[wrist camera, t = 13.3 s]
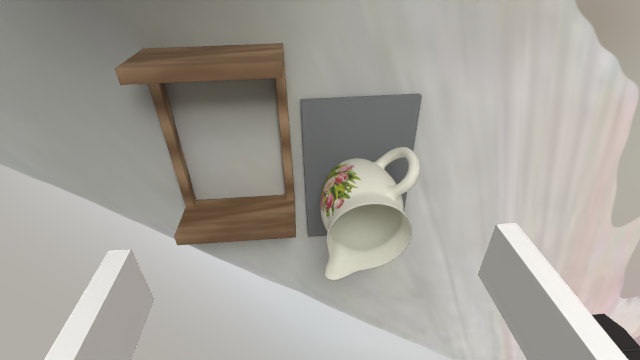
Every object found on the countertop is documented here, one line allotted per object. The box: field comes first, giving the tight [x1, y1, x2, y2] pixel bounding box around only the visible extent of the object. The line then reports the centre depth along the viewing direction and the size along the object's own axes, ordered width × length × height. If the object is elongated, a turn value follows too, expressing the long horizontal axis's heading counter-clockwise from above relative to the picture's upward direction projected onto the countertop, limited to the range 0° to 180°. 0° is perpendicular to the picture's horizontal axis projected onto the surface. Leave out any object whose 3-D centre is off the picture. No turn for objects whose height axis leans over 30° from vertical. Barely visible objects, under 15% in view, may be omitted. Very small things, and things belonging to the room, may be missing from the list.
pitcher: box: [320, 147, 420, 280], centre depth 46 cm, size 11×18×14 cm, turn 142°
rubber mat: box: [301, 94, 422, 237], centre depth 52 cm, size 24×16×1 cm, turn 1°
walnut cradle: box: [115, 43, 296, 245], centre depth 44 cm, size 24×16×8 cm
